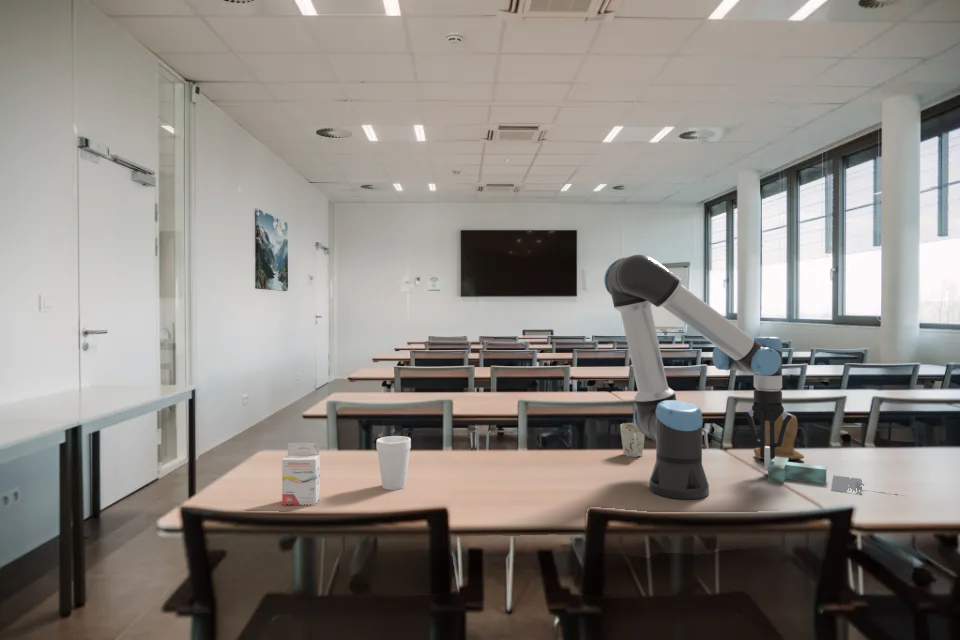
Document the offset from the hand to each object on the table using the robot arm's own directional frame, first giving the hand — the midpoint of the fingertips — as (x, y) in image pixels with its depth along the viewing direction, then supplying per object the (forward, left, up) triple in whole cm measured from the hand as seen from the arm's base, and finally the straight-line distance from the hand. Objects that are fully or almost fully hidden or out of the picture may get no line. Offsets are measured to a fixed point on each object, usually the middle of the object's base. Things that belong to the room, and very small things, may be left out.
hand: (767, 468), depth 175 cm
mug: (-40, 0, -2) cm, 40 cm away
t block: (+8, 0, -2) cm, 8 cm away
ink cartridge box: (-97, -90, -2) cm, 133 cm away
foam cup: (-86, -67, -2) cm, 109 cm away
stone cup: (0, +22, -2) cm, 22 cm away
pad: (+25, 0, -2) cm, 25 cm away
